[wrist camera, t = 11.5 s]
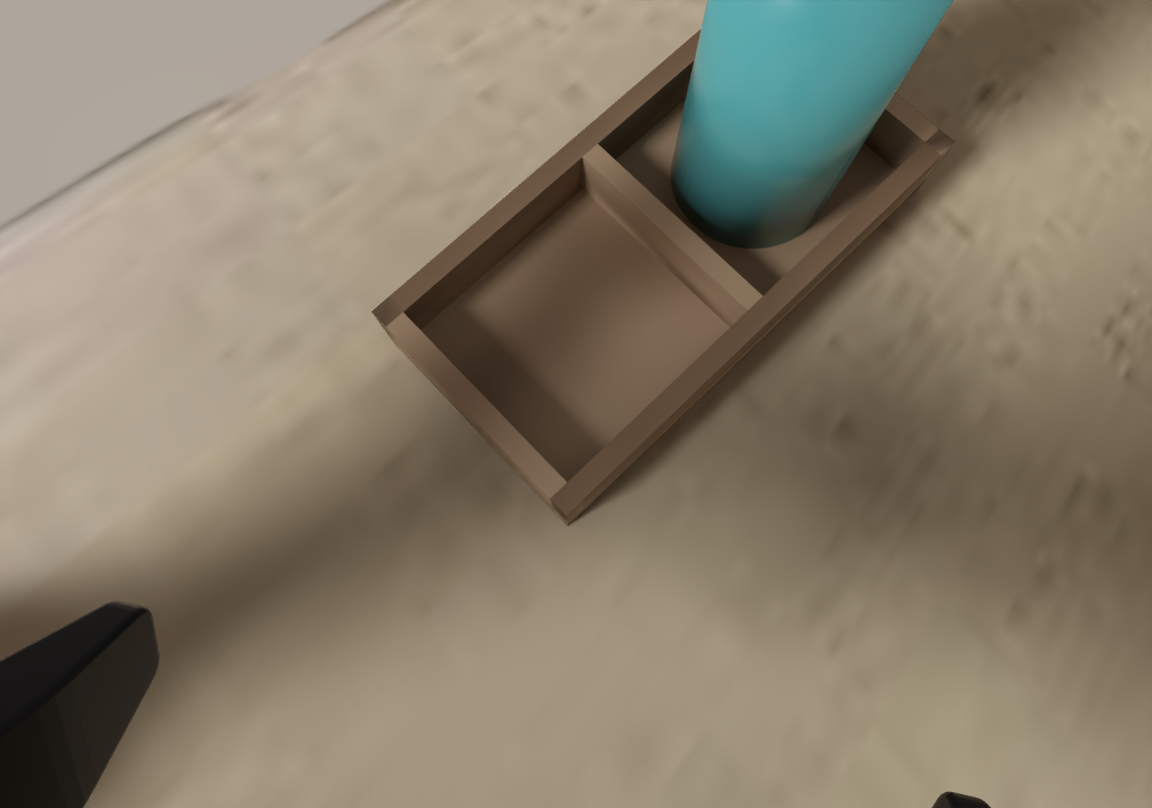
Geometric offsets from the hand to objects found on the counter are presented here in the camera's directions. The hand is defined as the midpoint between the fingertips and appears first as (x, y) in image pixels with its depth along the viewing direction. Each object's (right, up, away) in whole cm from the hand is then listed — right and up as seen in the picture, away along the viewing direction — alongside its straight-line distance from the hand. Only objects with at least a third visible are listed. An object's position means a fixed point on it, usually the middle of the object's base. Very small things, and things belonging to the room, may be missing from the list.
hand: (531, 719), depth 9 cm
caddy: (+3, +8, +16) cm, 18 cm away
